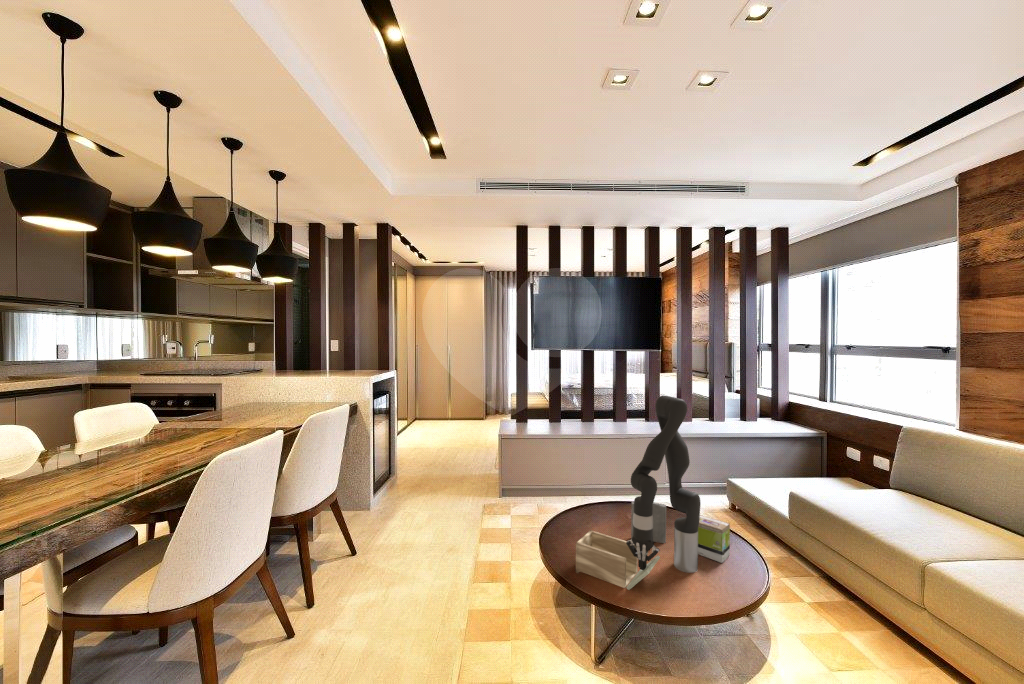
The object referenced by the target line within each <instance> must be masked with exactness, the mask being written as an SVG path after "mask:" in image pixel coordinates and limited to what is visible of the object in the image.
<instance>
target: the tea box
mask: <svg viewBox="0 0 1024 684" xmlns="http://www.w3.org/2000/svg"><path fill="white" fill-rule="evenodd" d="M730 528H731V525H730V522H726V521H723V520H719V519H715V518H713V517H710V516H705V515H702V514H700V520H699V526H698V556H702V557H704V558H707V559H710V560H713V561H715V562H718V563H721V564H722V563H725V561H726V560H727V559H728V558H729V557H730V554H731V553H730V551H731V543H730V542H731V537H730V536H731V531H730V530H731V529H730Z"/></svg>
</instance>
